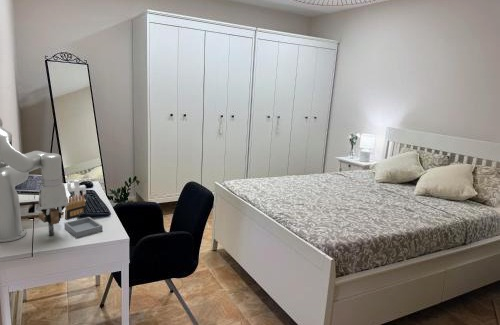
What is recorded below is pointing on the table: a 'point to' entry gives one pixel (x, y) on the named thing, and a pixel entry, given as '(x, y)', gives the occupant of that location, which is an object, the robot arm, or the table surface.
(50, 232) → the stake
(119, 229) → the table surface
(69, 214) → the ammunition clip
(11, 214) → the robot arm
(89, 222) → the tray
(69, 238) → the table surface
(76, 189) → the figurine
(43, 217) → the wooden block toy
